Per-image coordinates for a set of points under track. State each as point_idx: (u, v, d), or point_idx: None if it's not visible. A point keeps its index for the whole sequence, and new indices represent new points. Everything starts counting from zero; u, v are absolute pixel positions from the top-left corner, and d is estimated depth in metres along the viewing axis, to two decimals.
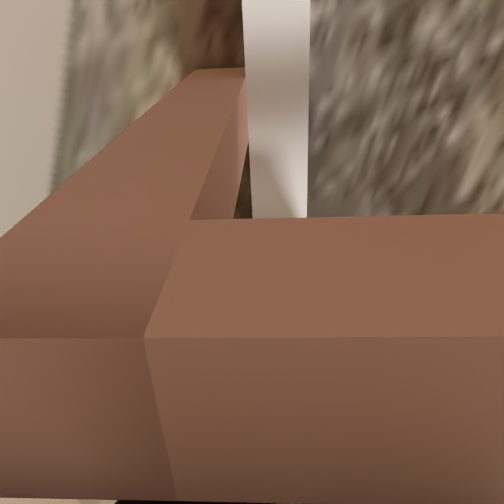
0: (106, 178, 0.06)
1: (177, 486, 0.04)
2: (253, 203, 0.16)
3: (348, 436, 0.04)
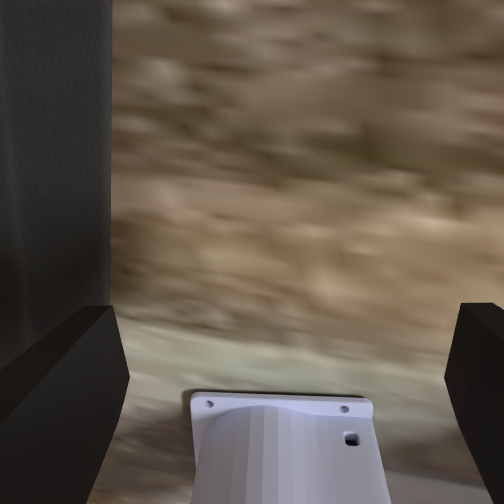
0: None
1: None
2: None
3: None
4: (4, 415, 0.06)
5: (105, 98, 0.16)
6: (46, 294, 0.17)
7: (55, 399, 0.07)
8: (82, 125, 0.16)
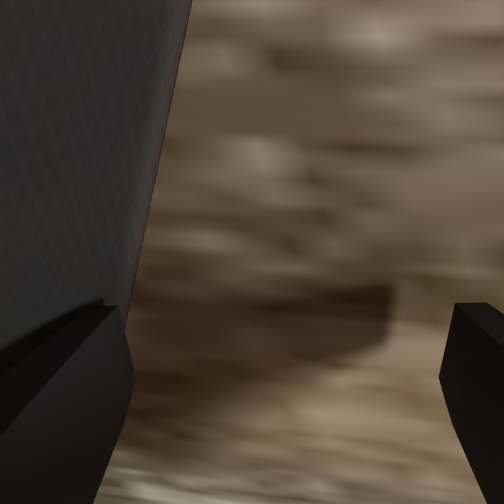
0: None
1: None
2: None
3: None
4: (13, 415, 0.06)
5: (133, 230, 0.10)
6: None
7: (63, 399, 0.07)
8: (87, 281, 0.09)
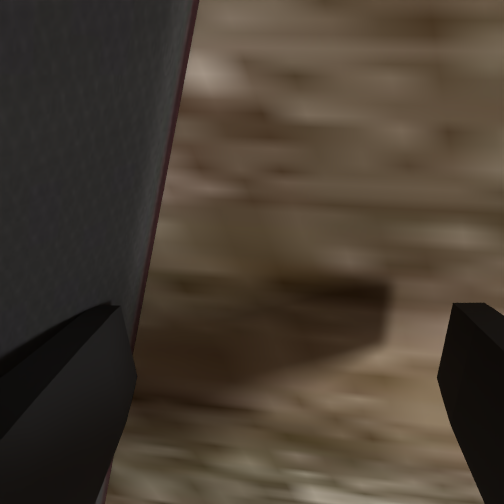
0: None
1: None
2: None
3: None
4: (16, 415, 0.06)
5: (151, 163, 0.09)
6: None
7: (66, 399, 0.07)
8: (102, 217, 0.08)
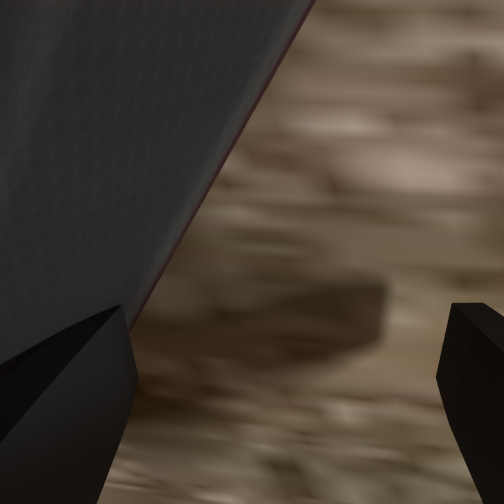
0: None
1: None
2: None
3: None
4: (19, 415, 0.06)
5: (183, 211, 0.09)
6: None
7: (67, 399, 0.07)
8: (125, 255, 0.08)
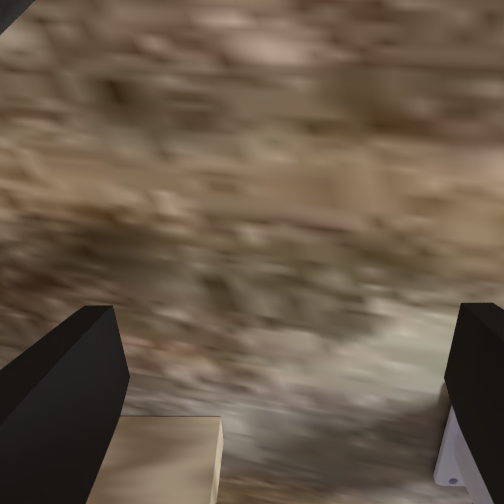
0: None
1: None
2: None
3: None
4: (4, 415, 0.06)
5: None
6: None
7: (55, 399, 0.07)
8: None
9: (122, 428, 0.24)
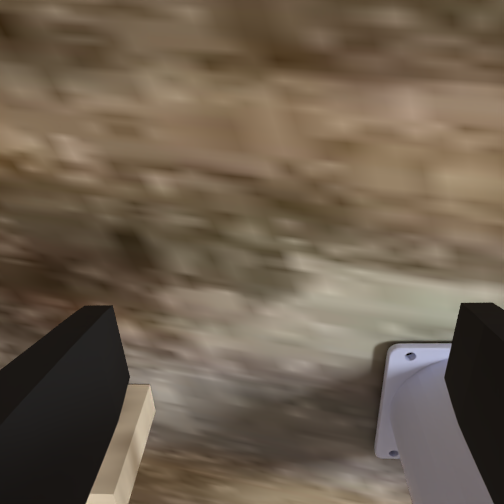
0: None
1: None
2: None
3: None
4: (4, 415, 0.06)
5: None
6: None
7: (55, 399, 0.07)
8: None
9: None
